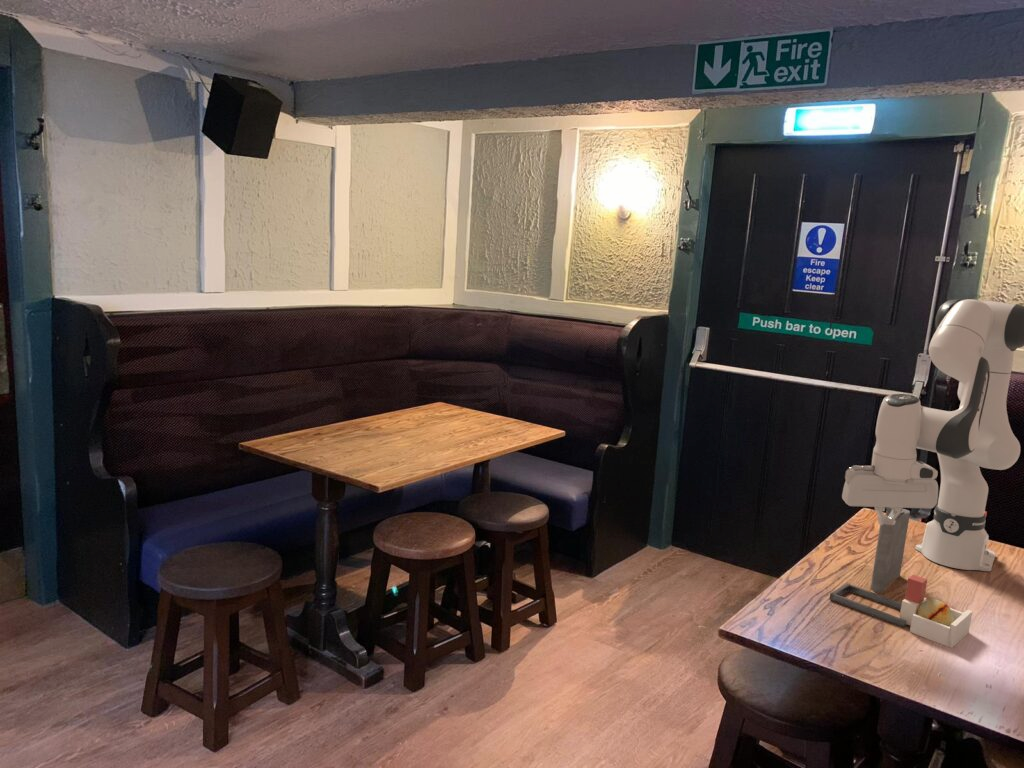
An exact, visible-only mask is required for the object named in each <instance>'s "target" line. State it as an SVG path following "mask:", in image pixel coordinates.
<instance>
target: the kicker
mask: <svg viewBox="0 0 1024 768" xmlns="http://www.w3.org/2000/svg"><path fill="white" fill-rule="evenodd" d="M927 583H928V579H927V578H925V577H922V576H918V575H917V574H916V575H915V574H912V575H911V576H909V577H908V578H907V582H906V590H905V596H904V599H903V600H901V601H902V602H901V603H902V605H901V610H899V612H900V613H899V618H901V619H903V620H906V625H908V626H910V627H911V621H912V615H913V614H916V615H917V611H918V608H919V606H920V605H921V604H922V603H923V602H925V601H927V597H926V596H925V595H926V589H927Z"/></svg>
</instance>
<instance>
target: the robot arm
mask: <svg viewBox="0 0 1024 768" xmlns="http://www.w3.org/2000/svg"><path fill="white" fill-rule="evenodd" d="M934 320H935V322H934V325H935V332H934V333H933V335H932V338H931V340H930V342H929V345H928V356H929V358H930V360H931V362H932V363H933V365H934V366H935V367H936V368H937V369H938V370H939V371H940V372H941V373H943V374H944V375H947V376H948V377H950V378H952V379H955V380H957V381H958V388H957V397H958V400H959V401H960V404H959V406H958V407H959V408H958V409H955V410H952V411H951V410H942V409H937V408H932V407H928V406H923V405H921V400H920V398H919V397H917V396H915V395H913V394H907V393H892V394H889V395H886V396H885V397H884V398H883V399H882V402H881V404H880V407H879V410H878V415H877V419H876V426H875V433H874V434H875V438H876V439H875V440H876V441H875V445H874V447H873V450H872V457H871V465H859V464H858V465H857V464H855V465H854V464H853V465H852V466H851V467H848V468H847V469H846V471H845V475H844V479H845V482H844V484H843V488H842V493H841V498H842V500H843V502H845V504H846V505H848V506H849V507H868V508H869V507H870V508H873V507H874V510H875V512H876V514H877V516H878V519H877V523H878V524H879V526H880V525H894V521H895V518H896V517H897V516H898V515H899V514H900V512H901V508H902V509H906V508H907V509H933V508H934V510H933V513H934V514H933V519H932V520H931V521H928V522H927V523H926V525H925V530H924V533H923V538H922V542H921V543H918V544H916V545H915V547H914V548H915V550H916V551H918V552H920V553H921V554H922V555H923V556H924V558H926V559H927V560H930V561H931V562H933V563H935V564H939V565H941V566H944V567H947V568H948V567H949V568H952V569H953V568H954V569H958V570H966V571H982V572H991V571H992V568H993V564H994V561H995V557H996V552H995V551H993V550H991V549H989V548H988V543H989V537H990V536H989V534H988V533H987V530H986V529H985V528H986V518H987V513H988V511H986V506H987V501H988V497H989V496H988V495H989V486H988V483H987V481H986V480H985V478H984V476H983V475H982V472H981V468H984V469H990V470H999V471H1002V470H1003V471H1004V470H1007V469H1010V468H1011V467H1012V466H1013V465H1015V463H1017V461H1018V459H1019V457H1020V455H1021V443H1020V441H1019V440H1018V438H1017V437H1016V436H1015V433H1013V430H1012V427H1011V424H1010V422H1009V416H1008V411H1007V409H1008V408H1007V401H1008V399H1007V398H1008V392H1009V386H1010V380H1011V374H1012V369H1013V365H1014V364H1013V363H1014V353H1015V351H1017V349H1019V348H1024V305H1021V304H1012V303H1006V302H1002V301H996V300H995V301H994V300H980V299H979V300H978V299H974V298H972V299H971V298H969V299H968V298H967V299H961V298H960V299H949V300H947V301H945V302H944V303H942V304H941V305H940V306H939V308H938V310H937V313H936V316H935V319H934ZM917 449H919V450H925V451H929V452H932V453H936V454H937V459H938V463H939V470H940V486H939V484H938V481H937V477H938V473H939V472H938V470H937V469H936V468H934V467H932V466H931V465H929V464H927V463H925V462H923V461H920V460H918V459H917V455H918V454H917V453H918V452H917ZM980 467H981V468H980ZM886 507H891V509H892V511H891V513H890V514H889V515H888V516H884V515H885V514H884V512H885V510H886Z"/></svg>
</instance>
